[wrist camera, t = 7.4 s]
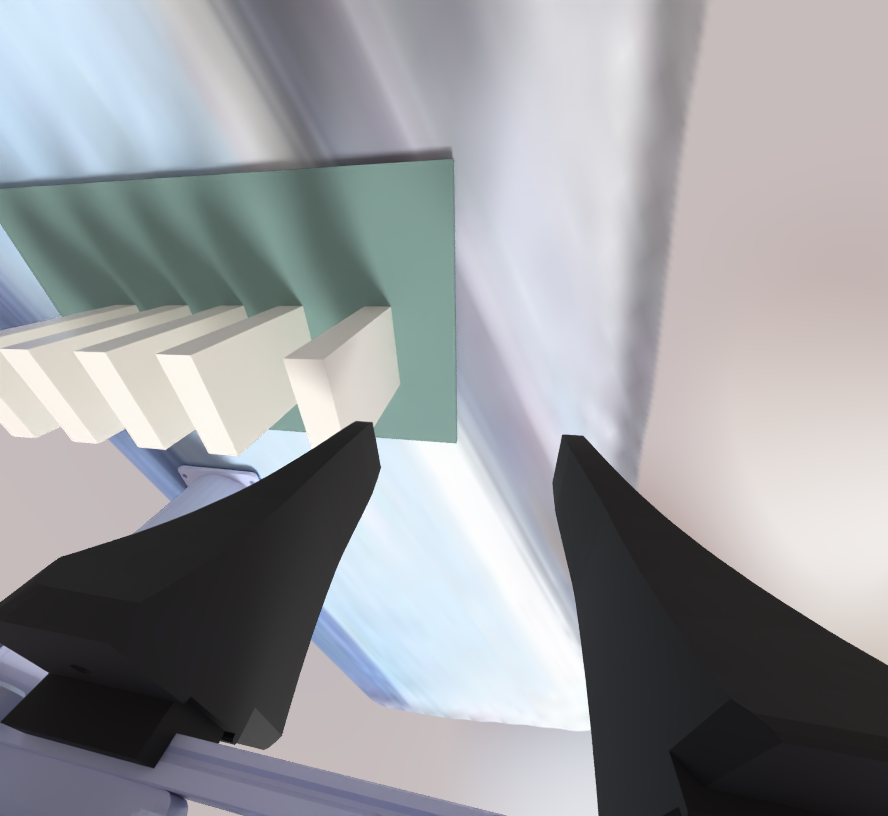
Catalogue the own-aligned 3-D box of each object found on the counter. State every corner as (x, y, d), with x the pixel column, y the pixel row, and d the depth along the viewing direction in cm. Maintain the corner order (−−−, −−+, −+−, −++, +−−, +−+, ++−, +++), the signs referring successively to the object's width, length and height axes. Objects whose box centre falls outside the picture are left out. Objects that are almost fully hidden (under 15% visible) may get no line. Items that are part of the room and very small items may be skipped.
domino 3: (322, 380, 21) (238, 456, 15) (300, 379, 22) (208, 453, 15) (302, 306, 19) (190, 355, 12) (278, 305, 19) (155, 354, 12)
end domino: (172, 374, 23) (35, 438, 16) (153, 373, 23) (12, 436, 17) (135, 304, 21) (-44, 347, 14) (115, 304, 21) (-71, 346, 14)
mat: (457, 439, 23) (456, 443, 22) (133, 416, 27) (129, 419, 26) (454, 160, 14) (452, 159, 14) (-12, 190, 19) (-22, 190, 18)
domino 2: (269, 378, 22) (165, 449, 15) (249, 377, 22) (138, 447, 15) (243, 305, 19) (105, 352, 13) (220, 305, 20) (72, 351, 13)
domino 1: (219, 376, 23) (98, 443, 16) (200, 375, 23) (73, 441, 16) (187, 305, 20) (27, 349, 13) (166, 305, 20) (-3, 348, 13)
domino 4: (400, 384, 20) (349, 465, 14) (377, 383, 21) (316, 463, 14) (390, 306, 18) (323, 359, 11) (364, 306, 18) (282, 358, 11)
